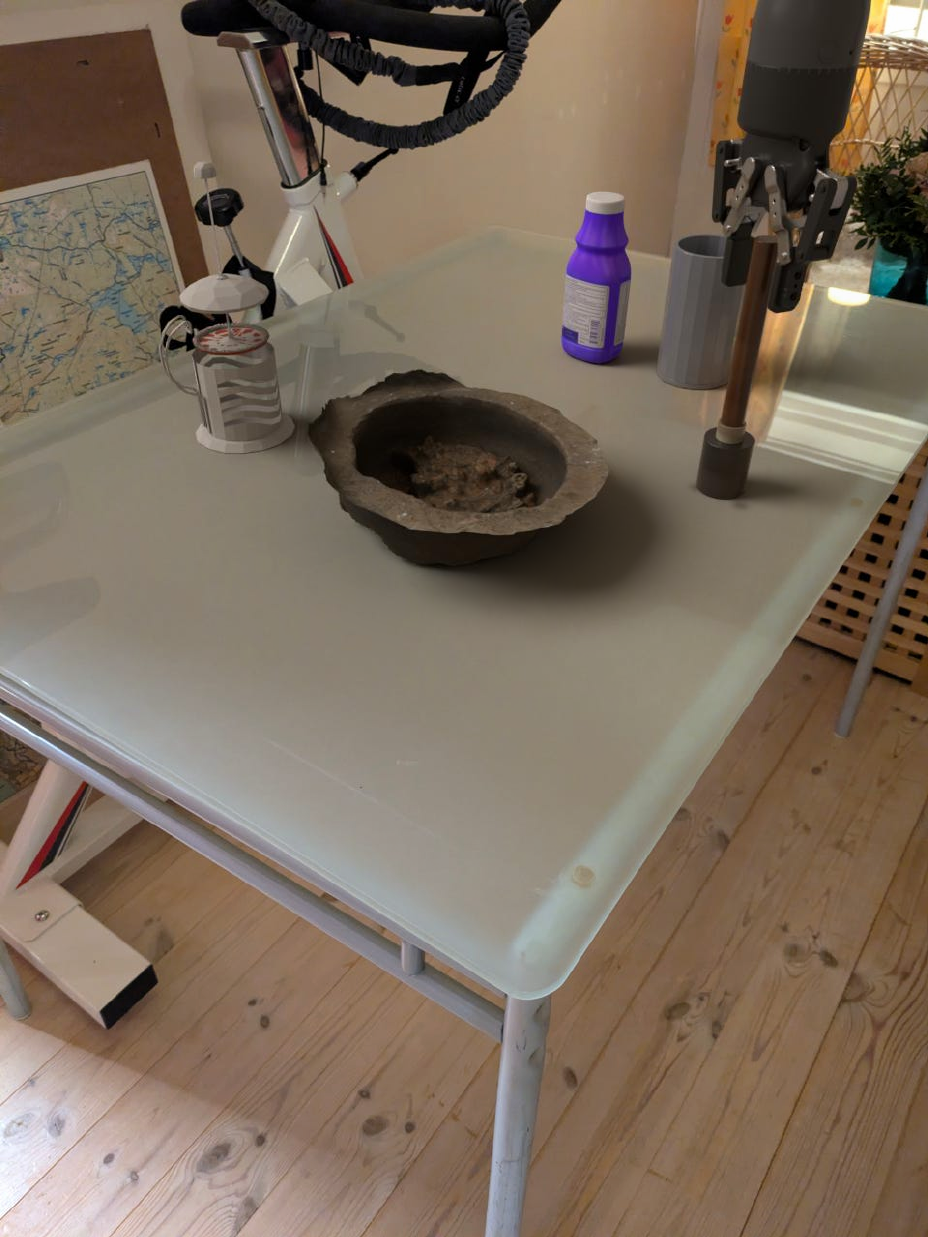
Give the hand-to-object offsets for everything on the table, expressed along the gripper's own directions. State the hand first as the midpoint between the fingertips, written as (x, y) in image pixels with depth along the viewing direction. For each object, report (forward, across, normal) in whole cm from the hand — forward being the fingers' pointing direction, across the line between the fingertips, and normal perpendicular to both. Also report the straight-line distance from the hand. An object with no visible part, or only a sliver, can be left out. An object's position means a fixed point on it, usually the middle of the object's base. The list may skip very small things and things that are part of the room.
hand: (756, 296), depth 76 cm
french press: (+18, +27, +39) cm, 51 cm away
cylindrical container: (+18, +22, -11) cm, 30 cm away
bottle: (+18, +31, -3) cm, 36 cm away
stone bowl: (+18, +4, +24) cm, 30 cm away
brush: (+18, 0, 0) cm, 18 cm away
